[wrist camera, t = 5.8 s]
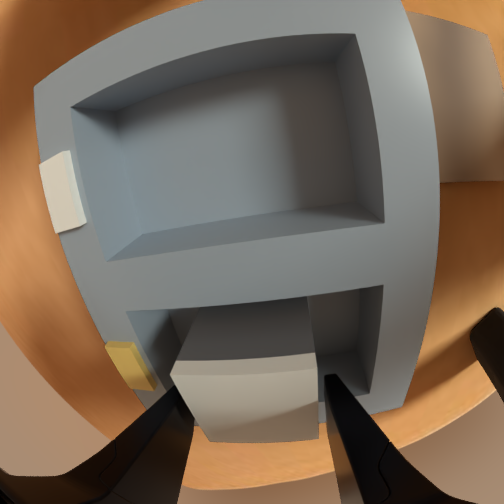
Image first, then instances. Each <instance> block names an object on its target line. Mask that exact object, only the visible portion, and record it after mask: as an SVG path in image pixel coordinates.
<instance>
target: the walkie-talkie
mask: <svg viewBox="0 0 504 504" xmlns="http://www.w3.org/2000/svg"><path fill="white" fill-rule="evenodd" d="M470 340H471V343H472V346H473V348H474V351H475V354H476V357H477V360H478V361H479V363H480V364H481V366H482V367H483V369H484V370H485V372H486V373H487V375H488V377H489V378H490V380H491V382H492V383H493V385H494V387H495V388H496V390H497V392H498V393H499V395H500V397H501V399H502V400H503V402H504V312H503V311H502V310H501V309H500V308H495V309H494V310H492V311H491V312H490V313H489V314H488V315H487V316H486V317H485V318H484V319H483V320H482V321H481V322H480V323H479V324H478V325H477V326H476V327H475V328H474V329H473V330H472V332H471V335H470Z"/></svg>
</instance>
